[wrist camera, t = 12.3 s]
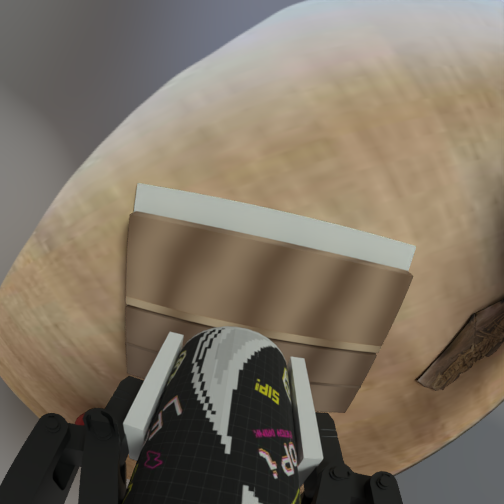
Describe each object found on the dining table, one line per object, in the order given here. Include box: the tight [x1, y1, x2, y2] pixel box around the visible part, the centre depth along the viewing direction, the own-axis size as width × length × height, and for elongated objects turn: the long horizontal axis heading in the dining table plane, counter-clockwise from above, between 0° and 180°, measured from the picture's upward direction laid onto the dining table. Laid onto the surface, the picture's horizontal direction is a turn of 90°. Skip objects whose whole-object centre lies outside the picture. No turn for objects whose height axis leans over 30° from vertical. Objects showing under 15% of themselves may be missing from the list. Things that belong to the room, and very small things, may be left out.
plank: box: [126, 211, 413, 353], centre depth 25 cm, size 26×9×2 cm, turn 78°
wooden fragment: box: [418, 299, 504, 391], centre depth 27 cm, size 26×11×1 cm, turn 119°
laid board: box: [126, 305, 377, 413], centre depth 28 cm, size 26×9×2 cm, turn 78°
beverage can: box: [122, 326, 301, 504], centre depth 9 cm, size 6×6×12 cm
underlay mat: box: [127, 183, 416, 305], centre depth 27 cm, size 27×20×1 cm
